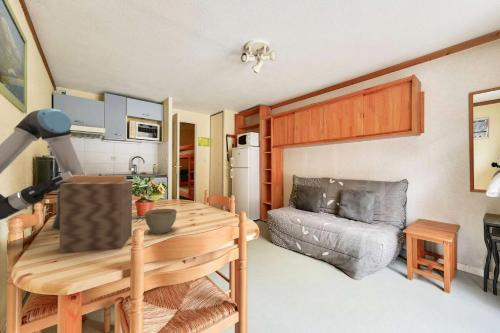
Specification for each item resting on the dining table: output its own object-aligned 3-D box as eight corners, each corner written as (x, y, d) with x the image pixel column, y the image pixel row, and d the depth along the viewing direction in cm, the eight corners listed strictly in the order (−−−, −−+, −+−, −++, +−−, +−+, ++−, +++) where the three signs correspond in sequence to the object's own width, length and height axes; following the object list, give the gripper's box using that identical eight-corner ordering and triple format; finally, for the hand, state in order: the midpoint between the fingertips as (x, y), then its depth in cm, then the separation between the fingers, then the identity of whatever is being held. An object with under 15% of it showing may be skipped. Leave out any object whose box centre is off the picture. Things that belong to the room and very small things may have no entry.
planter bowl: (182, 228, 122) (182, 209, 122) (164, 237, 107) (164, 216, 106) (157, 225, 126) (158, 207, 126) (137, 234, 111) (137, 213, 110)
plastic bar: (63, 181, 95) (63, 176, 95) (67, 180, 99) (67, 175, 99) (124, 181, 102) (124, 176, 102) (126, 180, 106) (126, 175, 106)
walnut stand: (59, 253, 86) (60, 184, 85) (80, 238, 103) (81, 180, 103) (121, 248, 92) (122, 183, 92) (131, 235, 109) (132, 180, 109)
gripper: (50, 199, 105) (94, 178, 111) (10, 210, 82) (69, 182, 87) (41, 186, 104) (85, 165, 109) (-2, 193, 80) (57, 166, 86)
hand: (78, 173), depth 98 cm, fingers open, 13 cm apart
